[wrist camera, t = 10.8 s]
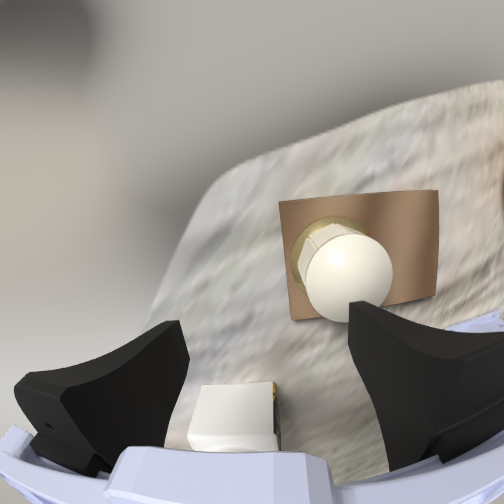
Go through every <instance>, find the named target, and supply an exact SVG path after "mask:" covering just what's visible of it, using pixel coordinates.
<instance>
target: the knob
mask: <svg viewBox="0 0 504 504" xmlns="http://www.w3.org/2000/svg"><path fill="white" fill-rule="evenodd" d="M332 223H333V224H336V223H337V224H340V225H343V226H346V227H348V228H351V229H354V230H357V231H359V232H361V233H363V234H365V235H366V236H368V237H370V235H369V233H368V232H367V231H366V230H365V229H364V227H362V226H361V225H360V224H359V223H357V222H355V221H354V220H351V219H349V218H346V217H342V216H328V217H324V218H321V219H318V220H316V221H314V222H312V223H311V224H309V225H308V226H307V227H306V228H304V229H303V231H302V232H301V233H300V234H299V236H298V237H297V239H296V241H295V242H294V245H293V248H292V251H291V258H290V265H291V271H292V274H293V277H294V280H295V282H296V283H297V285H298V287H299V288H300V289H301V290H302V291H303V292H304V293H305V294H306V295H307V291H306V287H305V285H304V283H303V280H302V277H301V275H300V272H299V269H298V264H297V263H298V260H299V257H300V254H301V252H302V249H303V246H304V243H305V240H306V238H308V239H310V237H309V235H310V234H312V233H314V232H316V231H318V230H320V229H322V228H324V227H326V226H328V225H330V224H332ZM370 238H371V237H370Z"/></svg>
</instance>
